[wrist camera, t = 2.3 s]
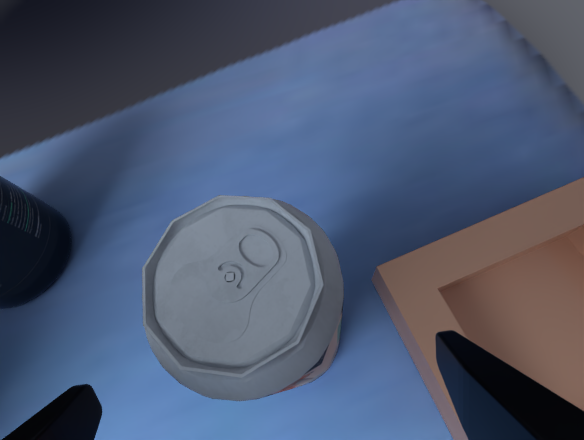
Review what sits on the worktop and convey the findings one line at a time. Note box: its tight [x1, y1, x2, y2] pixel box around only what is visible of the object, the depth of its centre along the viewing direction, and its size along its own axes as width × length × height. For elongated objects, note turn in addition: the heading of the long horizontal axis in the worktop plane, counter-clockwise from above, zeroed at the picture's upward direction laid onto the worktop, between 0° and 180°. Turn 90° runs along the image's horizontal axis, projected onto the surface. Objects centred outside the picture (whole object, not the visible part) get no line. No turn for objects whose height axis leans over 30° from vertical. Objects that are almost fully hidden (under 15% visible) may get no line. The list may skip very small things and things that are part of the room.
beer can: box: [142, 195, 344, 401], centre depth 13 cm, size 5×5×12 cm
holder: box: [372, 177, 584, 440], centre depth 16 cm, size 12×12×3 cm
